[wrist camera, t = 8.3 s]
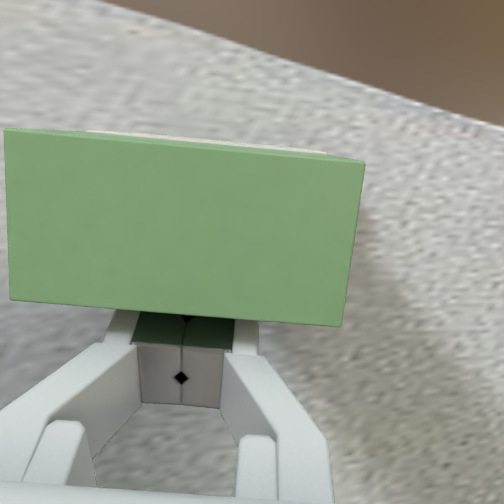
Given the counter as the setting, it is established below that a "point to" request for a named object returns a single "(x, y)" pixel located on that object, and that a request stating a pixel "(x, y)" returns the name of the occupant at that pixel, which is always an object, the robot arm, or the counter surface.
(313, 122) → the counter surface
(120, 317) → the robot arm
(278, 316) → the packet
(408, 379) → the counter surface
